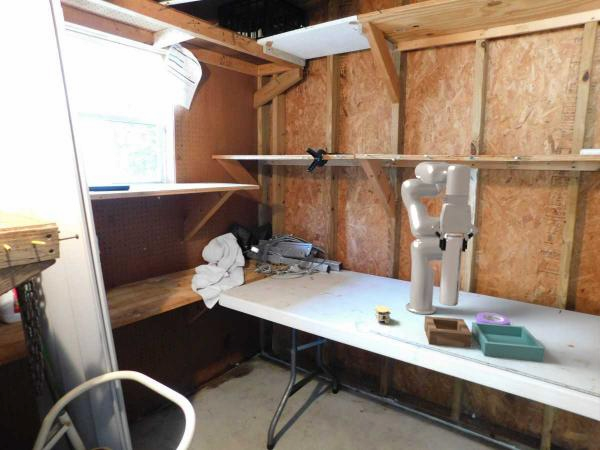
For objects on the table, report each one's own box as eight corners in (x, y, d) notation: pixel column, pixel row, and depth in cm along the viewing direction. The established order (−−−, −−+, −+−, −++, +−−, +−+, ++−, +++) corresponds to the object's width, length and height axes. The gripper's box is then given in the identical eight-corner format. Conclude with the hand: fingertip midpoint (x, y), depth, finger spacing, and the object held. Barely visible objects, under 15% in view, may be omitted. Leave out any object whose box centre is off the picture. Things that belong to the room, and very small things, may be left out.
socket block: (424, 328, 152) (424, 316, 151) (462, 331, 150) (463, 319, 149) (429, 344, 138) (430, 330, 138) (471, 348, 136) (472, 334, 135)
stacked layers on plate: (366, 318, 162) (367, 305, 162) (386, 316, 165) (386, 303, 164) (377, 327, 153) (377, 314, 152) (397, 325, 155) (398, 312, 154)
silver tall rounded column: (453, 299, 146) (458, 233, 142) (461, 306, 139) (466, 237, 135) (436, 299, 146) (441, 233, 142) (443, 306, 139) (448, 237, 135)
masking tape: (507, 324, 158) (508, 315, 158) (510, 335, 147) (511, 325, 147) (476, 319, 163) (476, 310, 162) (476, 329, 152) (477, 320, 151)
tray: (471, 333, 148) (472, 322, 147) (522, 337, 145) (523, 326, 144) (484, 355, 131) (485, 343, 130) (543, 361, 127) (544, 348, 127)
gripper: (432, 200, 134) (428, 251, 137) (486, 202, 131) (481, 254, 134) (429, 198, 142) (425, 247, 145) (480, 200, 139) (475, 249, 141)
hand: (452, 250), depth 139 cm, fingers closed on silver tall rounded column, 6 cm apart
